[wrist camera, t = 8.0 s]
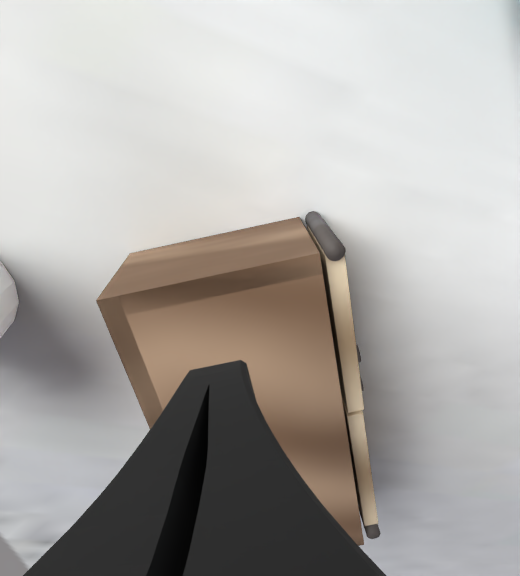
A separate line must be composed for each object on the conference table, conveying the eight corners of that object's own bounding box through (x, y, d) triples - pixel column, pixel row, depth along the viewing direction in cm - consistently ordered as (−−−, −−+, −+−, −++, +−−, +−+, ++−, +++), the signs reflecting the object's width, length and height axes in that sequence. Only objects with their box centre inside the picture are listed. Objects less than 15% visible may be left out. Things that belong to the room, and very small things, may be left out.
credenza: (366, 459, 25) (396, 538, 20) (215, 489, 25) (210, 573, 21) (334, 206, 18) (366, 238, 14) (128, 250, 19) (94, 296, 14)
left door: (367, 462, 25) (394, 534, 21) (345, 467, 25) (367, 539, 21) (352, 353, 22) (380, 413, 17) (326, 359, 22) (348, 419, 17)
